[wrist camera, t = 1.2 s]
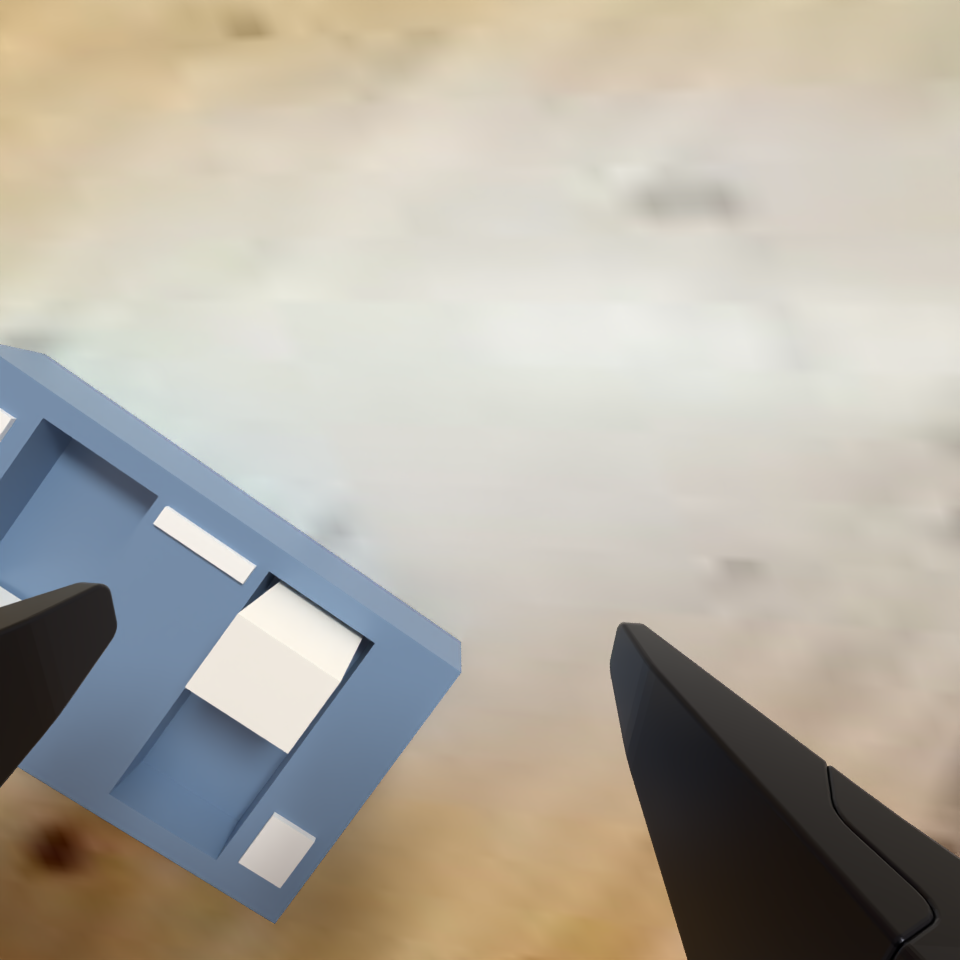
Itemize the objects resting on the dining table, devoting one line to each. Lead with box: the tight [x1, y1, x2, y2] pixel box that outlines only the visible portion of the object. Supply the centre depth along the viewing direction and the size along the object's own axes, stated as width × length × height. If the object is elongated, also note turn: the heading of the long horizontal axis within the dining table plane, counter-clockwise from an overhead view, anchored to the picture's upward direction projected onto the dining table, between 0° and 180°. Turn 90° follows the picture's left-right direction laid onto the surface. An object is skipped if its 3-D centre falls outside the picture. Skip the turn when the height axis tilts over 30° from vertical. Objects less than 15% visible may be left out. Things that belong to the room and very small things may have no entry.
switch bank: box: [0, 344, 461, 924], centre depth 20 cm, size 13×22×3 cm, turn 54°
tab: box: [185, 580, 364, 754], centre depth 18 cm, size 3×4×5 cm
